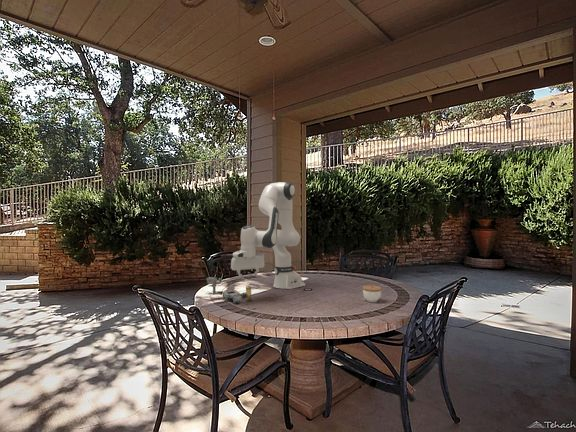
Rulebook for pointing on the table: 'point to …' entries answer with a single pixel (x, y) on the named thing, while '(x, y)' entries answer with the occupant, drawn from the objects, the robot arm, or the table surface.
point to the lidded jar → (372, 293)
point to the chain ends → (233, 296)
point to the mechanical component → (213, 282)
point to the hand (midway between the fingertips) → (248, 276)
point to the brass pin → (248, 293)
